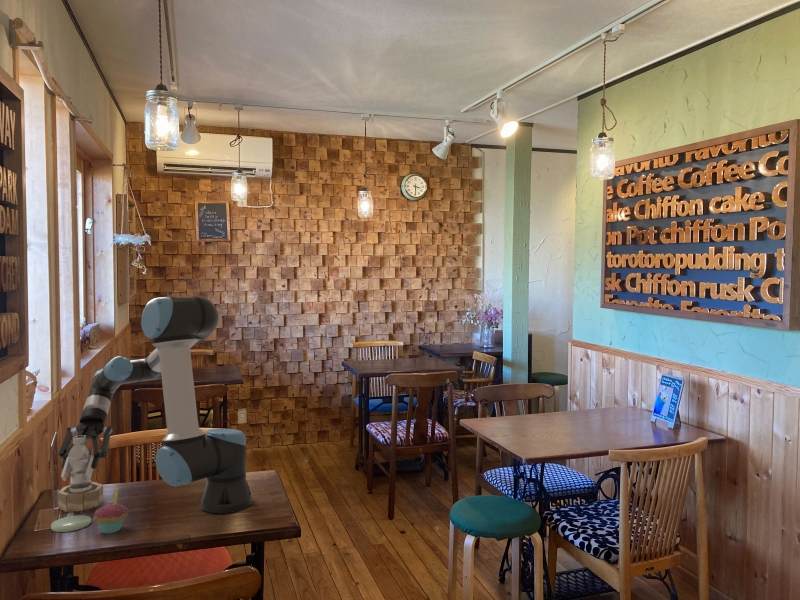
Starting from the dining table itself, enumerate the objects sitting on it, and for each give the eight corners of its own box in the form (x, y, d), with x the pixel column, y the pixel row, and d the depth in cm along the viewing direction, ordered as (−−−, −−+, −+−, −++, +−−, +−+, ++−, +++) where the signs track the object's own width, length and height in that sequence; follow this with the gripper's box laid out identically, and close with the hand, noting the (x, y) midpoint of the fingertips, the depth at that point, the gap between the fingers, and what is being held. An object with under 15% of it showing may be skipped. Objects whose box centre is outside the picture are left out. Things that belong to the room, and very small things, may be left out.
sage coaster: (98, 523, 175) (98, 520, 175) (62, 535, 167) (62, 532, 167) (79, 515, 181) (79, 512, 181) (43, 526, 172) (43, 524, 172)
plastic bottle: (98, 498, 192) (96, 434, 191) (81, 506, 185) (79, 440, 184) (81, 496, 193) (79, 433, 193) (63, 504, 187) (62, 438, 186)
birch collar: (109, 502, 191) (109, 486, 191) (72, 514, 181) (72, 497, 181) (88, 495, 197) (88, 480, 197) (52, 506, 188) (52, 490, 187)
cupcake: (119, 521, 176) (118, 480, 176) (133, 529, 171) (133, 486, 170) (88, 531, 169) (87, 488, 169) (102, 539, 164) (102, 495, 164)
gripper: (128, 418, 205) (112, 482, 189) (68, 419, 203) (46, 485, 187) (123, 405, 199) (105, 471, 184) (60, 406, 197) (37, 473, 181)
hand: (75, 478), depth 185 cm, fingers closed on plastic bottle, 6 cm apart
